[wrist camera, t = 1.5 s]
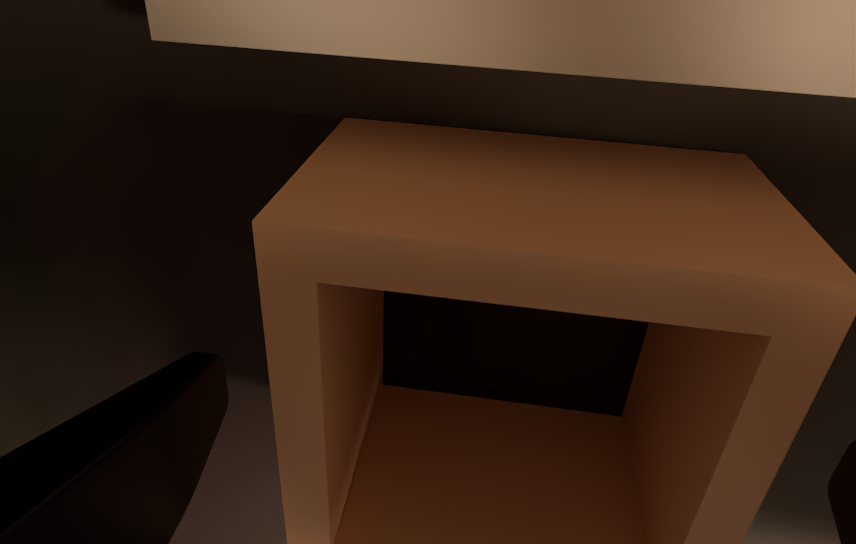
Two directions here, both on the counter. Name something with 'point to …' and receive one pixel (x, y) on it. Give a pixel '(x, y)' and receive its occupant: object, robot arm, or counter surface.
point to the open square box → (550, 290)
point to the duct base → (551, 36)
